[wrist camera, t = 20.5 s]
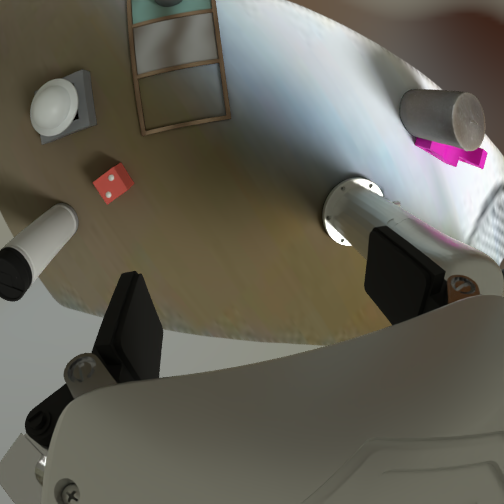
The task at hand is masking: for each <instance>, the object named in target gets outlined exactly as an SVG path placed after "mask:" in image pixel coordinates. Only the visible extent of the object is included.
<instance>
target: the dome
mask: <svg viewBox="0 0 504 504" xmlns="http://www.w3.org/2000/svg"><path fill="white" fill-rule="evenodd" d="M78 104H79V98H78V93H77V90H76V88H75V86H74V85H73V84H72V83H71V82H69V81H68V80H65V79H53V80H51V81H48V82H47V83H45V84H44V85H43V86H42V87H41V88H40V89H39V90H38V91H37V93H36V95H35V96H34V98H33V101H32V104H31V109H30V118H31V122H32V125H33V127H34V129H35V130H36V131H37V132H38V133H39V134H41V135H44V136H54V135H58V134H60V133H62V132H63V131H65V130H66V129H67V128H68V127H69V126H70V124H71V123H72V122H73V120H74V118H75V116H76V113H77V110H78Z"/></svg>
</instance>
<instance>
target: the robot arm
mask: <svg viewBox="0 0 504 504" xmlns="http://www.w3.org/2000/svg"><path fill="white" fill-rule="evenodd" d="M341 187H342V188H341ZM327 216H328V217H327ZM322 219H323V225H324V227H325V230H326V232H327V233H328V235H329V236H330V237H331V238H332V239H333V240H334V241H336V242H337V243H339V244H341V245H346V246H353V247H354V248H355V249H356V250H357V251H358V252H359V253H360V254H361V255H362V256H363V257H364V258H365V259H366V260H367V265H366V274H365V283H364V287H365V291H366V292H367V294H368V295H369V296H370V297H371V299H372V300H373V301H374V302H375V304H376V305H377V306H378V307H379V309H380V310H381V311H382V312H383V314H384V315H385V316H386V317H387V319H388V320H389V321H390V322H391V324H392V326H389V327H387V328H384V329H381V330H378V331H375V332H372V333H368V334H365V335H362V336H359V337H356V338H352V339H349V340H346V341H342V342H339V343H336V344H332V345H328V346H325V347H321V348H317V349H314V350H310V351H306V352H302V353H298V354H294V355H290V356H286V357H281V358H277V359H272V360H268V361H263V362H259V363H254V364H248V365H243V366H238V367H233V368H227V369H221V370H215V371H209V372H203V373H195V374H188V375H181V376H172V377H163V378H159V371H160V360H161V349H162V340H163V328H162V325H161V322H160V320H159V317H158V315H157V312H156V310H155V307H154V305H153V302H152V300H151V297H150V294H149V292H148V289H147V286H146V284H145V281H144V278H143V276H142V274H138V273H137V272H136V271H132V272H127V273H122V274H121V276H120V279H119V281H118V284H117V286H116V288H115V291H114V293H113V296H112V298H111V301H110V303H109V306H108V309H107V311H106V313H105V316H104V318H103V321H102V324H101V327H100V329H99V332H98V335H97V338H96V341H95V344H94V347H93V350H92V353H84V354H80V355H78V356H76V357H74V358H73V359H72V360H71V361H70V362H69V363H68V364H67V365H66V368H65V370H64V379H65V382H66V384H65V385H64V386H62V387H61V388H60V389H58V390H57V391H56V392H54V393H53V394H52V395H50V396H49V397H48V398H46V399H45V400H44V401H43V402H41V403H40V404H39V405H37V406H36V407H35V408H34V409H32V411H30V413H29V414H28V416H27V418H26V421H25V429H26V434H25V435H23V434H22V433H21V434H20V435H19V437H18V438H17V439H16V441H15V442H14V443H13V445H12V446H11V447H10V449H9V450H8V452H7V453H6V454H5V456H4V457H3V459H2V460H1V462H0V485H1V486H2V487H3V489H4V490H5V491H6V493H7V494H8V495H9V497H10V498H11V499H12V501H13V502H14V503H15V504H504V297H502V293H503V286H504V280H503V274H502V272H501V269H500V268H499V266H498V264H497V263H496V262H495V261H494V260H493V259H492V258H490V257H489V256H488V255H487V254H485V253H483V252H482V251H480V250H478V249H476V248H473V247H471V246H469V245H467V244H464V243H462V242H460V241H458V240H455V239H453V238H451V237H449V236H447V235H446V234H444V233H442V232H441V231H439V230H437V229H435V228H434V227H432V226H430V225H429V224H427V223H426V222H424V221H422V220H421V219H419V218H417V217H416V216H414V215H412V214H411V213H409V212H407V211H406V210H404V209H402V208H401V207H400V202H399V201H394V202H391V201H389V200H387V199H385V198H384V196H383V194H382V192H381V190H380V189H379V187H378V186H377V185H376V184H375V183H373V182H372V181H370V180H368V179H365V178H360V177H355V178H349V179H346V180H344V181H342V182H341V183H339V184H338V185H337V186H336V187H334V189H333V190H332V191H331V192H330V194H329V195H328V197H327V199H326V201H325V204H324V207H323V216H322Z"/></svg>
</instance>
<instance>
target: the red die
mask: <svg viewBox="0 0 504 504" xmlns="http://www.w3.org/2000/svg"><path fill="white" fill-rule="evenodd" d="M93 184H94V186H95V187H96V189H97V190H98V192H99V193H100V195H101V196H102V198H103V199H104V201H105V202H106V204H107V205H108V204H109V203H110V202H112V201H113V200H114V199H116V198H117V197H119V196H120V195H121V194H123V193H124V192H126V191H127V190H128V189H129V188H130V187H131V186H132V185H133V184H134V182H133V181H132V179H131V177H130V176H129V174H128V173H127V171H126V170H125V168H124V166H123V165H122V163H119V164H117V165H116V166H114V167H113V168H111V169H110V170H109V171H107V172H106V173H105V174H103V175H102V176H101V177H99V178H98V179H97V180H96V181H94V182H93Z"/></svg>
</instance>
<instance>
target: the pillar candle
mask: <svg viewBox="0 0 504 504" xmlns="http://www.w3.org/2000/svg"><path fill="white" fill-rule="evenodd" d="M400 117H401V120H402V122H403V124H404V126H405V128H406V129H407V131H408V132H409V133H410V134H411V135H413V136H415V137H418V138H422V139H426V140H430V141H434V142H437V143H441V144H446V145H450V146H453V147H457V148H460V149H464V150H465V151H474V150H476V149H477V148H478V147H479V146H480V145H481V143H482V141H483V138H484V134H485V116H484V112H483V109H482V106H481V104H480V102H479V101H478V99H477V98H476V97H475V96H474V95H473V94H471V93H468V92H459V91H447V90H425V89H414V90H410V91H408V92H407V93H405V95H404V96H403V98H402V100H401V104H400Z"/></svg>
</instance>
